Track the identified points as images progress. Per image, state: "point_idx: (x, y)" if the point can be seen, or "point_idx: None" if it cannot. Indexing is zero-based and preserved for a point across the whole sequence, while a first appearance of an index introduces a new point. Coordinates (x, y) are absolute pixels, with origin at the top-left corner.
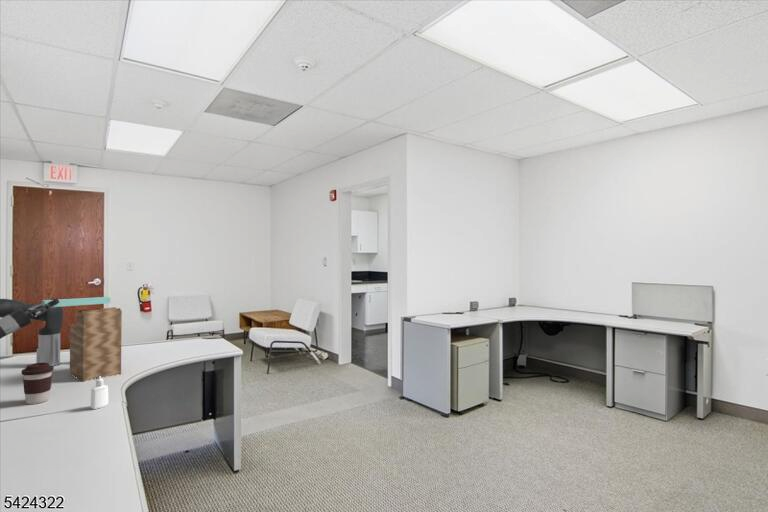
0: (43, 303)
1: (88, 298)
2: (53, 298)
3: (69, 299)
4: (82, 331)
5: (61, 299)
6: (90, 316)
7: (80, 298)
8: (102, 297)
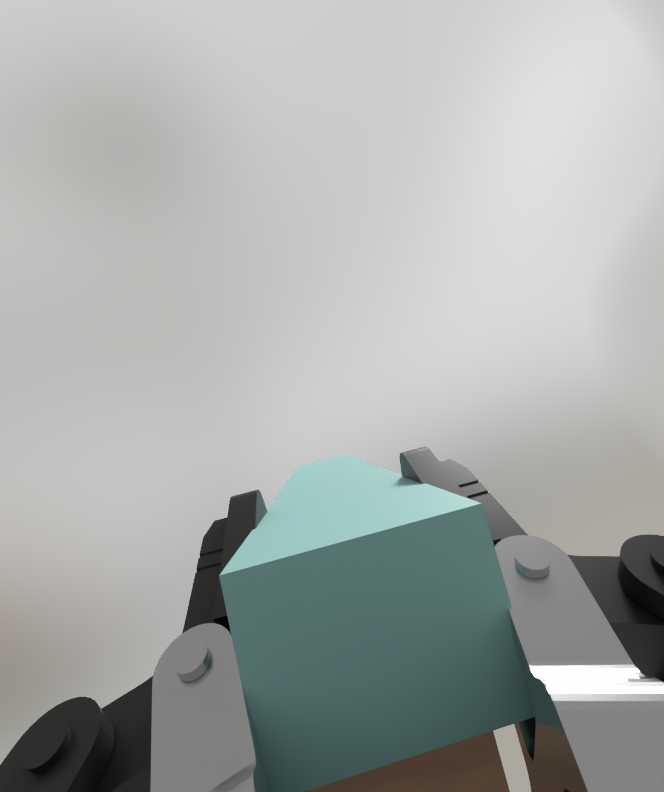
0: (400, 620)
1: (356, 459)
2: (258, 493)
3: (372, 467)
4: (472, 765)
5: (303, 492)
6: None
7: (309, 474)
8: (328, 460)
